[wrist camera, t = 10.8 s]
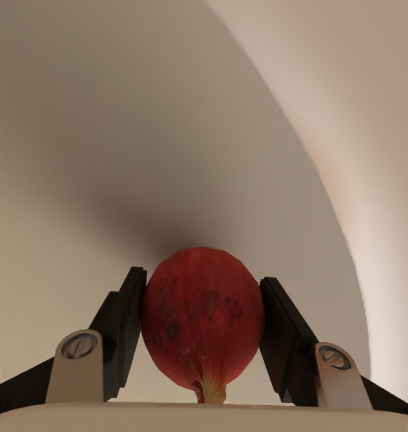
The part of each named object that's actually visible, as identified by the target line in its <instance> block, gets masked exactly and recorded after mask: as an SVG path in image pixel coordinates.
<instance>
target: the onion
mask: <svg viewBox="0 0 408 432" xmlns="http://www.w3.org/2000/svg"><path fill="white" fill-rule="evenodd" d="M264 327H265V309H264V305H263V300H262V295H261V291H260V288H259V285H258V283H257V281H256V280H255V279H254V277H253V276H252V275H251V274H250V272H249V271H248V270H247V268H246V267H245V266H244V265H243V263H242V262H241V261H240V260H238V259H237V258H235V257H233V256H232V255H230V254H229V253H227V252H225V251H223V250H218V249H213V248H207V247H197V248H191V249H185V250H179V251H177V252H176V253H174V254H173V255H172V256H170V257H169V258H167V259H166V260H164V261H163V262H161V263H160V264H159V265H158V267H157V268H156V270H155V272H154V273H153V275H152V277H151V279H150V280H149V282H148V284H147V286H146V287H145V289H144V292H143V295H142V300H141V332H142V337H143V340H144V343H145V345H146V347H147V349H148V352H149V354H150V356H151V358H152V360H153V362H154V363H155V365H156V366H157V368H158V369H159V370H160V371H161V372H162V373H163V374H164V375H165V376H167V377H168V378H169V379H171V380H172V381H173V382H175V383H176V384H177V385H179V386H181V387H184V388H187V389H190V390H193V391H195V393H196V395H197V399H198V401H197V402H198V403H199V404H223V402H224V401H225V399H226V391H225V389H226V384H228V383H229V382H231V381H233V380H234V379H236V378H237V377H238V376H239V375H240V374H241V373H242V372H243V371H244V369H245V368H246V367H247V365H248V364H249V363H250V362H251V360H252V359H253V357H254V356H255V354H256V352H257V350H258V347H259V344H260V340H261V337H262V334H263V331H264Z"/></svg>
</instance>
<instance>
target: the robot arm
mask: <svg viewBox="0 0 408 432" xmlns="http://www.w3.org/2000/svg"><path fill="white" fill-rule="evenodd" d="M146 280H147V270H143V267H133V266H132V267H131V269H130V271H129V273H128V275H127V277H126V278H125V280H124V282H123V284H122V286H121V288H120V290H119V292H115V291H111V292H110V293H109V294H108V296H107V297H106V299H105V301H104V302H103V304H102V306H101V307H100V309H99V311H98V313H97V314H96V316H95V318H94V319H93V321H92V323H91V325H90V326H89V328H88V329H85V330H79V331H76V332H73V333H71V334H69V335H68V336H66V337H65V338H64V339H63V340H62V341H61V342H60V343H59V344H58V346H57V349H56V352H55V356H54V357H52V358H50V359H49V360H47V361H45V362H43V363H41V364H39V365H37V366H35V367H33V368H31V369H29V370H27V371H25V372H23V373H21V374H19V375H17V376H15V377H13V378H11V379H9V380H7V381H5V382H3V383H1V384H0V432H408V403H406V402H405V401H403V400H401V399H400V398H398V397H396V396H395V395H393V394H391V393H389V392H388V391H386V390H385V389H383V388H381V387H379V386H378V385H376V384H375V383H373V382H371V381H370V380H368V379H366V378H365V377H363V376H361V375H360V374H359V372H358V369H357V367H356V364H355V362H354V360H353V359H352V358H351V356H350V355H349V354H348V353H347V352H345V351H344V350H343V349H341V348H340V347H338V346H336V345H334V344H331V343H327V342H319V341H318V339H317V338H316V336H315V334H314V333H313V332H312V330H311V329H310V327H309V326H308V324H307V323H306V321H305V320H304V318H303V317H302V315H301V314H300V312H299V311H298V309H297V308H296V306H295V305H294V303H293V302H292V301H291V299H290V298H289V296H288V295H287V293H286V292H285V290H284V289H283V287H282V286H281V284H280V283H279V281H278V280H277V278H273V277H264V279H261V281H260V285H259V288H260V291H261V295H262V300H263V305H264V309H265V327H264V331H263V334H262V337H261V340H260V344H259V349H260V351H261V354H262V357H263V360H264V363H265V366H266V369H267V372H268V375H269V377H270V380H271V383H272V386H273V389H274V391H275V392H276V393H278V394H279V397H280V399H281V402H282V403H293V404H295V405H296V406H271V405H237V404H199V403H154V402H107V401H108V400H109V399H110V398H117V395H118V392H119V389H120V388H124V387H125V385H126V381H127V378H128V374H129V371H130V367H131V363H132V360H133V356H134V353H135V349H136V346H137V342H138V339H139V335H140V332H141V300H142V295H143V292H144V289H145V287H146Z"/></svg>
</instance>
